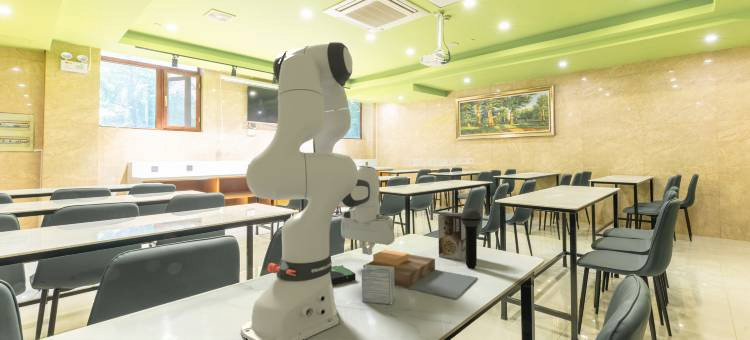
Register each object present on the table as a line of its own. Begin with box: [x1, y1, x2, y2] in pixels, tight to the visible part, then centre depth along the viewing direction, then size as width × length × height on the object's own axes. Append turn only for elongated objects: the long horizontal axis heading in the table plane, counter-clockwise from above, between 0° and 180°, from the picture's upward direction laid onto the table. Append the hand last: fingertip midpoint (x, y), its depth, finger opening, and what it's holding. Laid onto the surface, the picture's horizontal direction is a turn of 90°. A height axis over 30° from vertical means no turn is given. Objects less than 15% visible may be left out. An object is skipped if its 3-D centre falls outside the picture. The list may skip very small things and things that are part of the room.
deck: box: [362, 253, 436, 290], centre depth 109 cm, size 18×16×4 cm
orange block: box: [372, 249, 409, 265], centre depth 111 cm, size 7×9×2 cm
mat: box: [408, 269, 478, 300], centre depth 101 cm, size 18×14×1 cm
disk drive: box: [330, 264, 356, 287], centre depth 105 cm, size 10×3×15 cm
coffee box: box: [437, 211, 466, 261], centre depth 127 cm, size 9×6×16 cm
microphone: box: [461, 208, 482, 270], centre depth 114 cm, size 7×7×20 cm
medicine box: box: [361, 265, 396, 305], centre depth 90 cm, size 8×4×9 cm, turn 74°
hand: (367, 254), depth 116 cm, fingers closed
